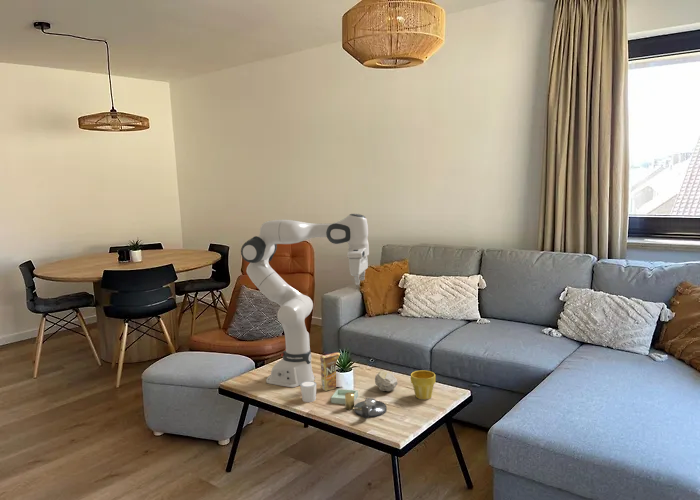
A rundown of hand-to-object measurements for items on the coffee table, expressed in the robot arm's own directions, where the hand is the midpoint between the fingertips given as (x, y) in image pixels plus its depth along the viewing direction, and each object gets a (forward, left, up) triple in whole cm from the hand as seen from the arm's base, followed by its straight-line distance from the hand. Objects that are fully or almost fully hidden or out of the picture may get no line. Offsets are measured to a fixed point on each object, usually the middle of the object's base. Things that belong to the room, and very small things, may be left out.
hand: (359, 282), depth 230 cm
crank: (+9, -28, -46) cm, 55 cm away
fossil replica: (+11, -2, -48) cm, 49 cm away
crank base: (+9, -24, -47) cm, 54 cm away
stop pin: (0, -24, -47) cm, 53 cm away
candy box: (-13, -5, -47) cm, 49 cm away
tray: (-4, -16, -47) cm, 50 cm away
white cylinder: (-19, -19, -47) cm, 55 cm away
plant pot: (+28, -7, -47) cm, 56 cm away
